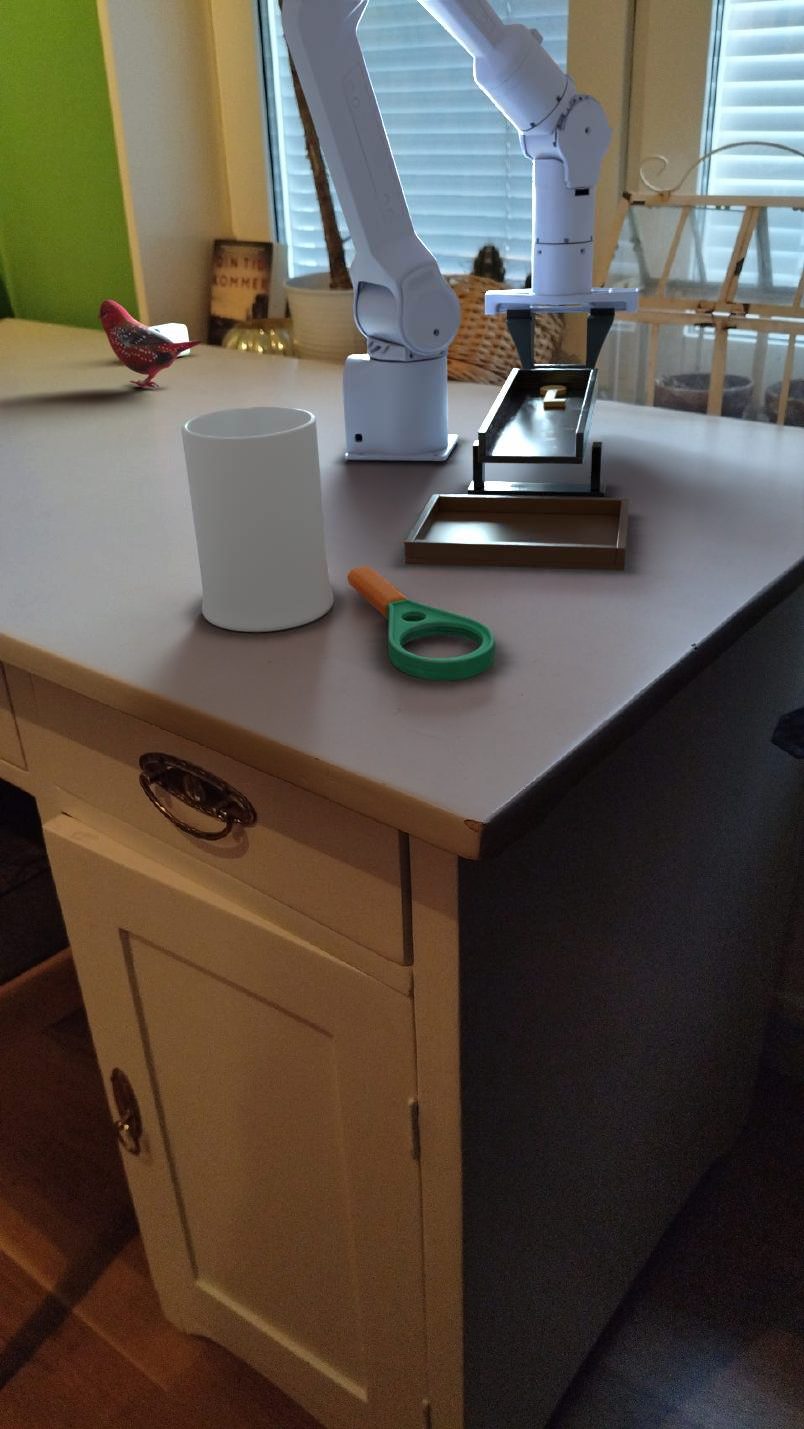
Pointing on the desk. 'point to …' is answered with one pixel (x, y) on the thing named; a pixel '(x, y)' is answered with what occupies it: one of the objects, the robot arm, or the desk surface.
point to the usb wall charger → (174, 333)
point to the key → (553, 395)
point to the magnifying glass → (423, 630)
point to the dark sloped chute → (540, 417)
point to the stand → (539, 488)
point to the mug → (258, 517)
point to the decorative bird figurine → (139, 343)
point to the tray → (521, 532)
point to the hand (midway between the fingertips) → (559, 389)
